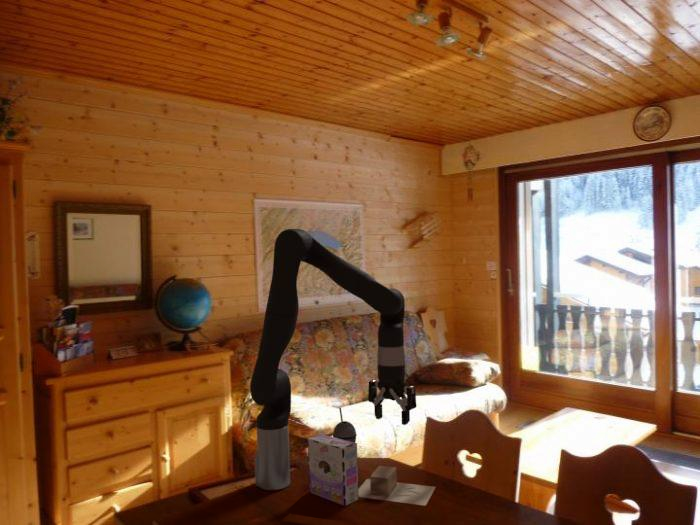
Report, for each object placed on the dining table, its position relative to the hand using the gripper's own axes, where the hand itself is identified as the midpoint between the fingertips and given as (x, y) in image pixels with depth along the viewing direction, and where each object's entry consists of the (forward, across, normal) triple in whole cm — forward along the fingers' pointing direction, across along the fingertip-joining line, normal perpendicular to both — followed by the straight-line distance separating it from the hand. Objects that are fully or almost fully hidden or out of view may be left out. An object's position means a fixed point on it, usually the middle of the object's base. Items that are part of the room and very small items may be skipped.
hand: (391, 421), depth 150 cm
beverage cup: (+21, -21, +6) cm, 30 cm away
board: (+20, +1, 0) cm, 21 cm away
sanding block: (+19, -2, -1) cm, 19 cm away
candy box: (+21, -12, -12) cm, 27 cm away
